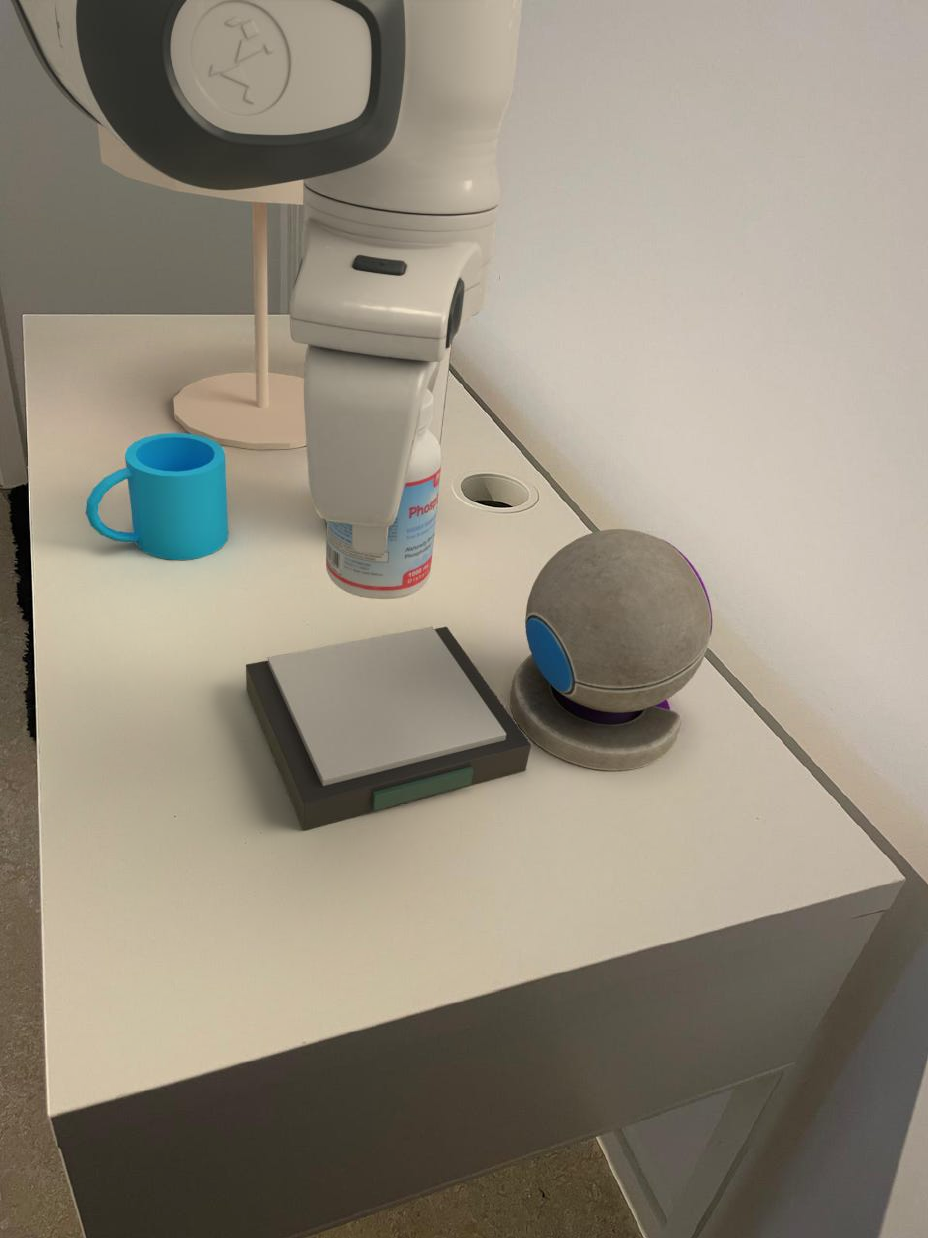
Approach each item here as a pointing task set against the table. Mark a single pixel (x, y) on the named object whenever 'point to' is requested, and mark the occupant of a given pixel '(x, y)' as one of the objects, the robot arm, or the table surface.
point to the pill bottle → (395, 531)
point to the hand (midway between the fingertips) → (381, 513)
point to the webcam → (610, 649)
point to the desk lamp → (258, 401)
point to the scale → (381, 723)
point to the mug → (171, 496)
